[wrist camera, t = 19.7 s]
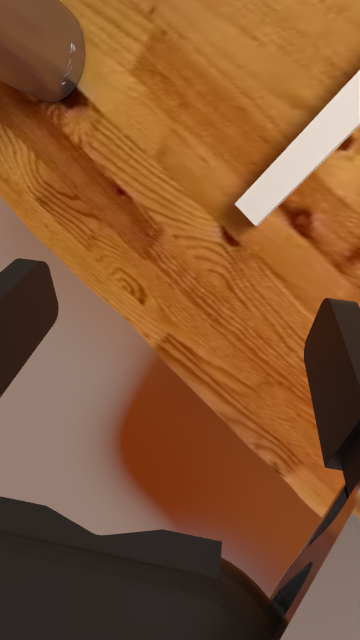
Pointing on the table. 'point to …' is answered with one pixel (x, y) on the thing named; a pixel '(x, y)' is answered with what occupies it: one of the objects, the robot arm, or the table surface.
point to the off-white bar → (304, 154)
